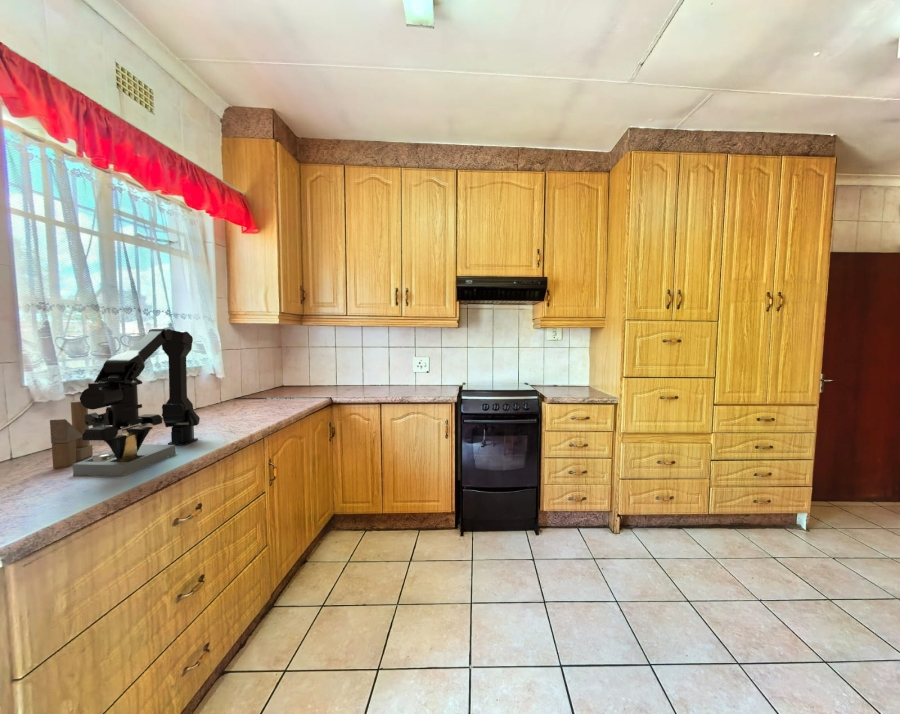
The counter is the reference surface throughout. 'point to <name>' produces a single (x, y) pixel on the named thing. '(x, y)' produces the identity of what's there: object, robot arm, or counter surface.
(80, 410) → the wooden block
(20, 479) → the counter surface
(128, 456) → the brass cylinder
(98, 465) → the jig
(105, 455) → the chrome sphere
